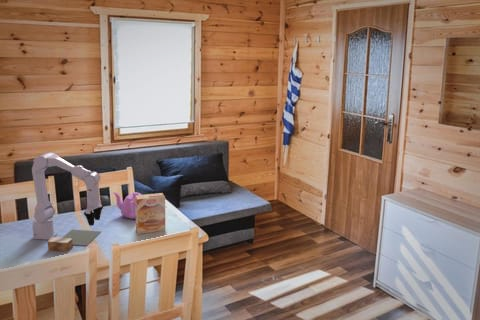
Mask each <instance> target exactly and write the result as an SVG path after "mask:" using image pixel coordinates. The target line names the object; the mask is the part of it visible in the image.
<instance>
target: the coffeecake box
mask: <svg viewBox="0 0 480 320" xmlns="http://www.w3.org/2000/svg"><path fill="white" fill-rule="evenodd" d="M135 213H136V219H135V230H136V233H137V235H139V234H148V233H157V232H164V231H166V196H165V195H164V193H163V192H159V193H158V192H157V193H147V194H142V195H135Z"/></svg>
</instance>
